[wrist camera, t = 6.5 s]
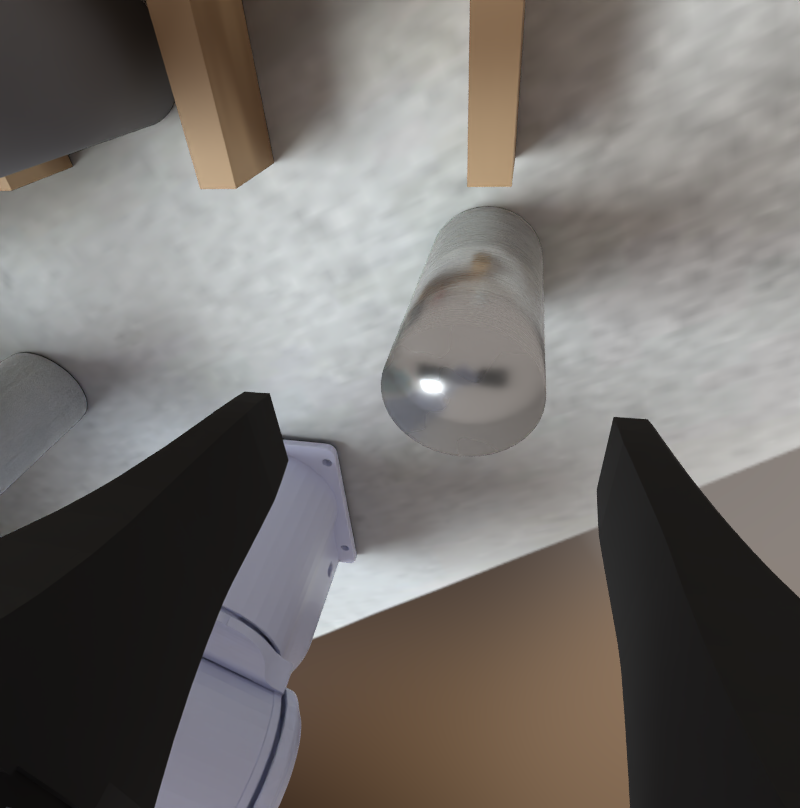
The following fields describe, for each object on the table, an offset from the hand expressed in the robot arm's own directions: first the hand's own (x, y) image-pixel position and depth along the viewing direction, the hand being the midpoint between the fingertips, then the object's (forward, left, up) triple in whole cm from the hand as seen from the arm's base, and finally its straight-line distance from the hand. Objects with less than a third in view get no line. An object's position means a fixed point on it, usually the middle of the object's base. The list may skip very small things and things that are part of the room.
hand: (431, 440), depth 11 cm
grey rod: (0, 0, -10) cm, 10 cm away
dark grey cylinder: (+6, +12, -10) cm, 17 cm away
